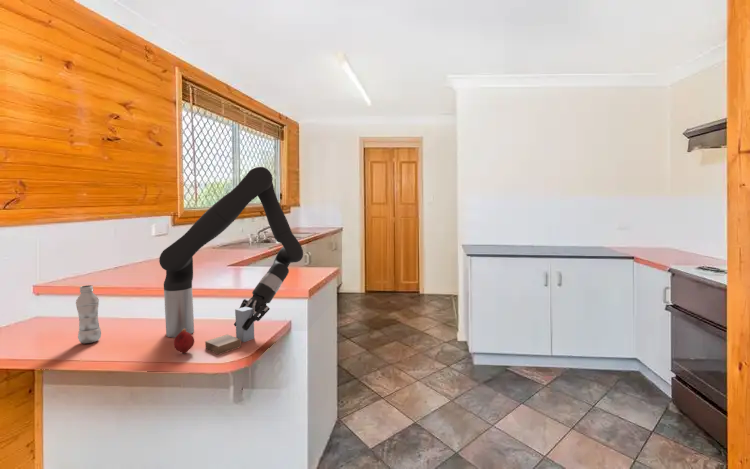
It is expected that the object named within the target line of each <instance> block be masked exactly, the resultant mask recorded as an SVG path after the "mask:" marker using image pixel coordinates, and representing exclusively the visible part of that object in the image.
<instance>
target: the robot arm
mask: <svg viewBox="0 0 750 469" xmlns="http://www.w3.org/2000/svg"><path fill="white" fill-rule="evenodd" d="M256 197H258V199H259V201H260V203H261V206H262V208H263V211H264V213H265V216H266V217H265V218H266V220H267V223H268V225H269V226H268V227H269V228H270V231H271V233H272V236H273V237H274V239H275V241H276V242H277V243H280V244H281V245H282V247H281V248H280V250H278V252H277V253H276V256H275V258H274V260H273V263H272V265H271V266H270V267H269V269H268V270H267V272H266V273H265V274H264V276H263V277H262V278H261V279H260V280H259V282H258V283H257V285H256V286H255V288H253V290H252V292H251V294H252V296H251V297H250V298H249V299H248V300H247V299H246V298H245V299H243V300H242V302H241V304H240V307H239V308H243V307H249V308H252V311H251V314H250V316H249V318H248V319H247V320H246V322H245V323H244V325H243V326H242V328H243V329H244V330H246V331H247V330H248V329H249V327H250V326H251V324H252V323H253V322H254V323H255V322H256V321H257V322H260V320H261V319H262V318H264V316H265V315H266V314H267V313H268V312H269V311H270V310H271V309H270V307H269V306H268V305H267V304H271V301H272V300H273V298H274V297H275V296H276V294H277V292H278V291H279V290H280V288H281V287H282V284H283V282H284V280H286V279H287V276H288V274H289V272H290V270H289V266H290V264H291V263H293V264H294V263H298V262H300V261H301V260H302V259H303V257H304V251H303V248H302V245H301V243H300V242H299V240H298V239H297V238H296V236H295V235H294V234H293V232H292V229H291V226H290V224H289V221H288V218H287V216H286V215H285V213H284V210H283V209H282V206H281V205H280V202H279V200H278V198H277V194H276V191H275V187H274V183H273V174H272V173H271V171H270V170H269V169H268V168H267V167H264V166H255V167H252V168H251V169H249V171H248V172H247V173H246V175H245V176H244V177H243V178H242V180H240V181H239V183H238V184H237V185H236V186H235V187H234V188H233V189H231V190H230V191H229V192H228V193H227V194H224V196H223V197H221V198H220V199H219V200H217V201H216V202H214V204H213V205H211V206H210V207H209V208H208V209H207V210H206V211H205V212H204V213H203V214H202V215H201V216H200V217H199V218H198V219H197V220H196V221H195V223H193V225H192V226H191V227H190V228H189V229H188V230H187V232H185V233H183V235H182V236H181V237H179V238H178V239H177V240H175V241H174V242H173V243H171V245H169V246H168V247H166V248H165V249H163V250H162V251H161V254H160V255H159V260H158V263H159V265H160V267H161V268H162V270H164V271H165V278H164V281H163V298H164V315H165V336H166V337H168V338H175V337H176V336H177V335H178V334H179V333H180V332H181V331H182V330H183V329H186V332H188V333H190V334H191V335H192V334H193V333H194V332H195V319H194V301H193V300H194V298H193V297H194V296H193V280H194V260H193V256H194V255H195V254H196V253H197V252H198V251H199V250H200V249H202V248H203V247H204V246H205V245H207V244H208V243H210V242H211V241H212V240H214V239H215V238H217V237H218V236H219V235H221V234H222V233H223V232H224V231H225V230H227V228H228V227H229V226H230V225H232V224H233V223H234V222H235V220H236V219H237V218H238V217H239V216H240V215H241V213H242V212H243V210H245V208H246V207H247V206H248V205H249V204H250V203H251V202H252V201H253V200H254V199H256ZM253 315H254V316H253ZM233 325H234V327H236V321H234V324H233Z"/></svg>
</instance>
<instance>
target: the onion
mask: <svg viewBox="0 0 750 469" xmlns="http://www.w3.org/2000/svg"><path fill="white" fill-rule="evenodd" d="M194 344H195V338H194V336H193V335H192V334H190V333H188V332H186V329H183V330H182V331H181V332H180V333H179V334H178V335H177V336H176V337H174V340H173V347H174V349H175V350H176V351H177V352H179V353H182V354H186V353H188V351H190V350H191V349H192V348H193V346H194Z"/></svg>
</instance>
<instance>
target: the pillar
mask: <svg viewBox="0 0 750 469" xmlns="http://www.w3.org/2000/svg"><path fill="white" fill-rule="evenodd" d="M234 311H235V313H234V314H235V322H236V326H235V337H236V338H239V339H241V343H245V342H248V341H251V340H255V322H253V323H252V324H251V326H250V327H249V329H248V330H247V331H246V330H244V329H243V328H242V326H243V325H244V323H245V322H246V320H247V319H248V318H249V316H250V314H251V311H252V308H249V307H243V308H240V307H239V308H236V309H234ZM253 316H254V315H253Z"/></svg>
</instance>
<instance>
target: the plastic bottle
mask: <svg viewBox="0 0 750 469" xmlns="http://www.w3.org/2000/svg"><path fill="white" fill-rule="evenodd" d="M79 293H80V294H79V295H78V297H77V299H76V301H75V306H76V310H77V314H78V315H77V316H78V322H79V323H78V325H79V326H78V334H77V339H78V342H80V343H81V344H92V343H95V342H97V341H99V340H100V339H101V337H102V330H101V327H100V323H99V305H100V303H99V302H100V299H99V297H98V296H97V295H96V294H95V293H94V286H93V285H89V284H88V285H81V286H79Z"/></svg>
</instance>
